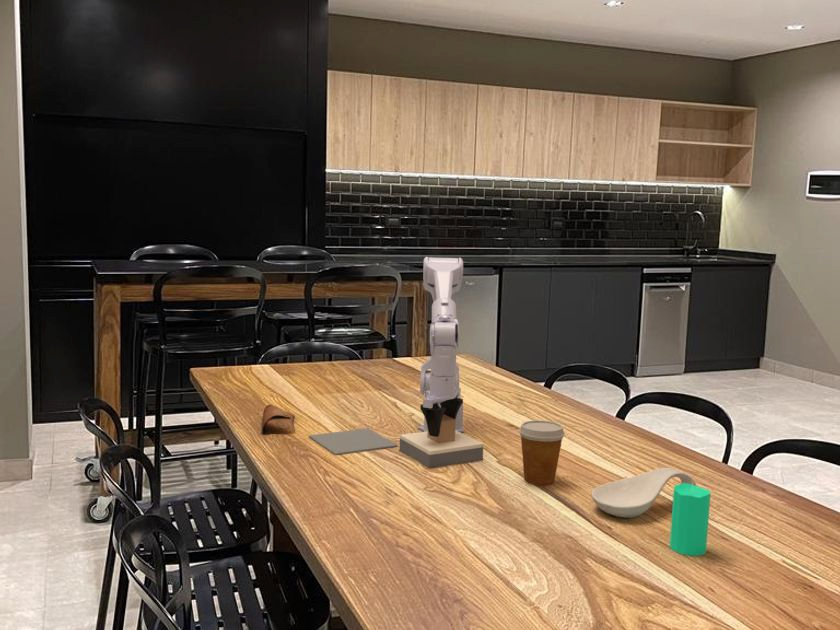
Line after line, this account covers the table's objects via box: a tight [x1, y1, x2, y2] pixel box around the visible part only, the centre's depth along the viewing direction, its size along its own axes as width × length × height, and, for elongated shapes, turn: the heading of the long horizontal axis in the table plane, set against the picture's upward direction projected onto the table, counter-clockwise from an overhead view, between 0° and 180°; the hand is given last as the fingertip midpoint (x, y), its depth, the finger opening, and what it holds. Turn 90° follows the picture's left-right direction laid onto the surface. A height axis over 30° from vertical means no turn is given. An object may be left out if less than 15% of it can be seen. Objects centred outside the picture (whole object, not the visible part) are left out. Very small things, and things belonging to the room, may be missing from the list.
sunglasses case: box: [261, 404, 296, 436], centre depth 213 cm, size 18×7×7 cm
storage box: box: [399, 438, 484, 469], centre depth 191 cm, size 14×14×3 cm
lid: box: [399, 415, 484, 455], centre depth 191 cm, size 14×14×6 cm
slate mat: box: [308, 427, 398, 456], centre depth 200 cm, size 16×16×1 cm
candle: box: [669, 481, 711, 557], centre depth 142 cm, size 6×6×12 cm
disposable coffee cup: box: [518, 420, 566, 487], centre depth 175 cm, size 10×10×12 cm
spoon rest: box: [590, 467, 698, 519], centre depth 162 cm, size 24×12×7 cm, turn 117°
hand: (441, 432), depth 191 cm, fingers closed on lid, 6 cm apart
